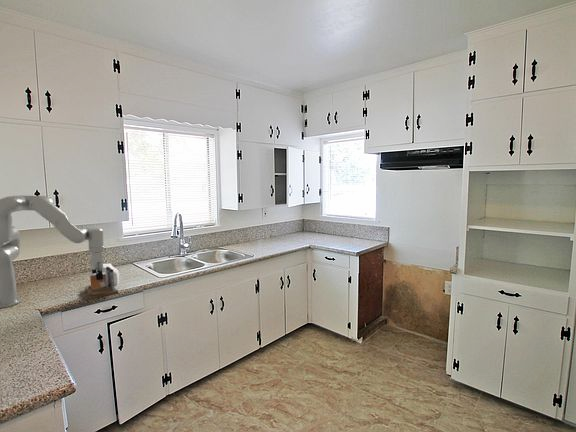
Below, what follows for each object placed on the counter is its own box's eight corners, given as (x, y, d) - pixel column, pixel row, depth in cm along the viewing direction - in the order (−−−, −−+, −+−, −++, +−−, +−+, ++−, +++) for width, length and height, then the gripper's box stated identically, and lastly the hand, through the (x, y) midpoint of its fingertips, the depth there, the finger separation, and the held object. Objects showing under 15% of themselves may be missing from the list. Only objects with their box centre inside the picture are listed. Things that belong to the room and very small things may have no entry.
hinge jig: (79, 293, 191) (77, 270, 189) (110, 287, 202) (109, 265, 201) (85, 300, 180) (83, 275, 178) (118, 293, 192) (116, 269, 190)
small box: (91, 293, 187) (89, 275, 186) (91, 290, 192) (90, 273, 191) (106, 291, 191) (105, 274, 189) (107, 288, 196) (106, 271, 194)
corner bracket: (101, 281, 214) (100, 264, 212) (120, 280, 217) (119, 262, 216) (97, 286, 203) (96, 268, 202) (117, 284, 207) (116, 266, 206)
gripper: (85, 247, 192) (86, 275, 194) (92, 252, 180) (93, 282, 181) (99, 246, 197) (100, 273, 199) (107, 251, 185) (108, 279, 187)
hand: (97, 277), depth 190 cm, fingers open, 9 cm apart
